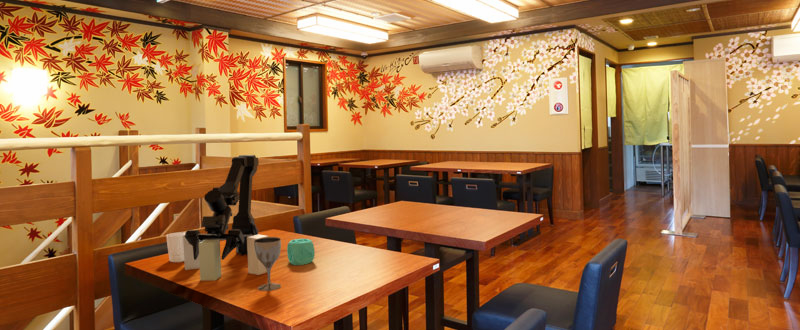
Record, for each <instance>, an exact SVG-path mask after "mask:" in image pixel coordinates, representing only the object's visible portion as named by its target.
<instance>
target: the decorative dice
mask: <svg viewBox="0 0 800 330" xmlns="http://www.w3.org/2000/svg"><path fill="white" fill-rule="evenodd" d="M286 247H287V249H286V253H287V259H288V262H289V264H291V265H292V266H304V264H305V265H308V263H309V264H310V263H312V262H313V261H314V259H315V256H316V255H315V247H314V243H313V240H311V239H309V238H297V239H296V238H295V239H291V240H290V241H289V242H288V243H287V246H286Z"/></svg>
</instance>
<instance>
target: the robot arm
mask: <svg viewBox="0 0 800 330" xmlns="http://www.w3.org/2000/svg"><path fill="white" fill-rule="evenodd" d="M258 166H259V158H258V157H256V155H255V154H240V155H238V156H234V157H232V159H231V166H230V168H229V171H228V174H227V177H226V179H225V182H224V183H223V184H222V185H220V186H219V187H213V188H212V189H211V190H209V191H207V193H205V194H204V201H205V202H206V204H207V206H208V208H209V209H210V211H211V212H213V213H212V215H211V216H209V215H207V216H202V220H201V227H202V228H203V227H204V232H207V233H201V232H200V230H199V229H188V230H186V231H185V232H186V233H185V238H186V239H187V241H188V242H189V244H190V245H192V246H193V255H194V260H196V259H197V257H198V255H199V243H200V242H201V241H203V240H213V239H220V241H224V240H225V244H224V247H223V250H222V253H221V261H222V260H225V259H226V257H228V255H229V254H230V253H231V252H232V251H233V250H234V249H235V253H237V254H239V255H243V256H244V255H248V252H247V237H250V236H254V235H258V234H259V229H258V228H257V224H256V223H255V218H254V216H253V214H252V211H251V210H252V193H253V192H252V190H253V178H254V176H255V174H256V173H257V171H258ZM238 189H239V191H238ZM237 204H238V211H237V213H236V214H235V215H234V216H233V212H232V211H233V209H232V208H231V207H232V206H233V207H234V206H236V205H237ZM232 216H233V217H232ZM231 217H232V224H231V229H229V223H230V222H229V221H230V219H231ZM227 230H228V231H227ZM226 232H227V233H226Z"/></svg>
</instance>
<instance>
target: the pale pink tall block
mask: <svg viewBox="0 0 800 330" xmlns="http://www.w3.org/2000/svg"><path fill="white" fill-rule="evenodd" d="M182 232H183V243H184V261H183V262H184V270H185V271H189V270H196V269H197V270H198V269H200V262H199V255H198V257H197V259H196V260H194V255H193V246H192V245H190V244H189V242H188V241H187V239H186V238H185V233H186V232H187V231H182Z"/></svg>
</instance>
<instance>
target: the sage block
mask: <svg viewBox="0 0 800 330" xmlns="http://www.w3.org/2000/svg"><path fill="white" fill-rule="evenodd" d="M221 257H222V255H221V240H220V239H213V240H203V241H201V242H200V243H199V262H200V268H199V276H200V277H199V278H200V281H216V280H218V279H219V278H220V277H222V263H221V261H222V259H221Z"/></svg>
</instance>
